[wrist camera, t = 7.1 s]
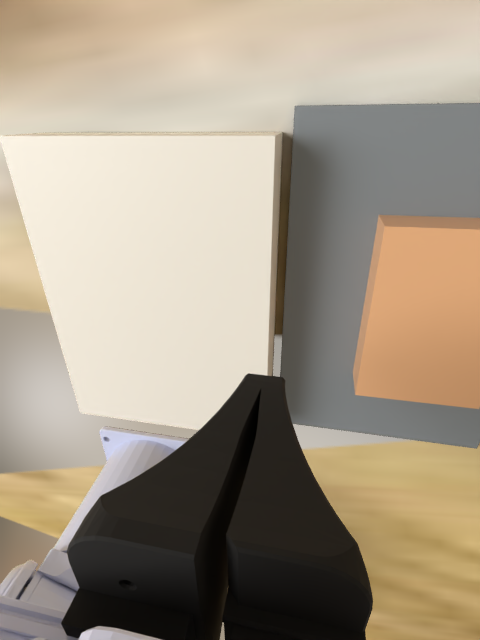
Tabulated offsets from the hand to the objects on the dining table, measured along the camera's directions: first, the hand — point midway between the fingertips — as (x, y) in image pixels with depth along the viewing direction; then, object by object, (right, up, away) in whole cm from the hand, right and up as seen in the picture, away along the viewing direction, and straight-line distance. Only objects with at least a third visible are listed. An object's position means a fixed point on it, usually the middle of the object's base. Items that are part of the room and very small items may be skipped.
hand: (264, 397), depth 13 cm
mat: (+7, +4, +6) cm, 10 cm away
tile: (+8, +2, +4) cm, 9 cm away
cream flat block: (-5, +5, +8) cm, 11 cm away
